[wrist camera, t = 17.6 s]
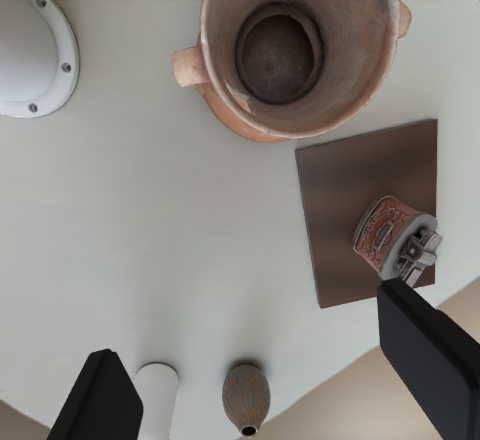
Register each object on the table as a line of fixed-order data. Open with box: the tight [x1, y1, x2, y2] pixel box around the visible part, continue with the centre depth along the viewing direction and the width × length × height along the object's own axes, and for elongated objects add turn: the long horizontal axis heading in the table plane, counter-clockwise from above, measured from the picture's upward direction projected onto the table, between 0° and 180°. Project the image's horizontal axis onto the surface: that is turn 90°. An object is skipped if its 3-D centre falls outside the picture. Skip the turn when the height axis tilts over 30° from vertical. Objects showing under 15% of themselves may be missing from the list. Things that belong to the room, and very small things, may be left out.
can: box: [133, 363, 178, 440], centre depth 39 cm, size 6×6×12 cm
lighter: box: [351, 194, 443, 288], centre depth 31 cm, size 8×3×10 cm, turn 158°
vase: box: [222, 364, 270, 438], centre depth 41 cm, size 7×7×9 cm
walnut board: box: [295, 119, 438, 309], centre depth 37 cm, size 22×16×1 cm
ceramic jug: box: [172, 0, 411, 142], centre depth 24 cm, size 18×14×14 cm
